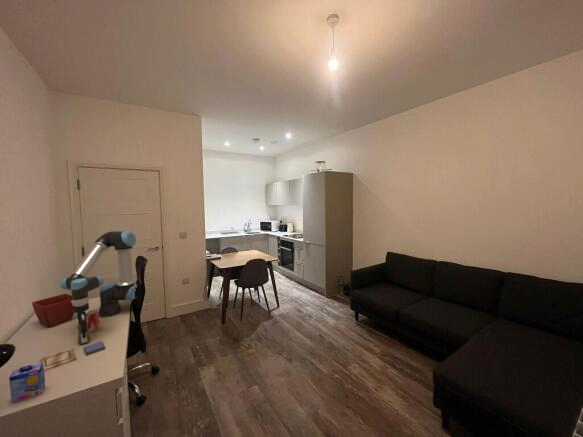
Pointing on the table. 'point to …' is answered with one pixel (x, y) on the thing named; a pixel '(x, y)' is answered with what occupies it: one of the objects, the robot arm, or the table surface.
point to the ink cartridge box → (27, 382)
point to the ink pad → (93, 348)
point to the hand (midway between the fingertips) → (83, 340)
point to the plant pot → (54, 310)
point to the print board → (58, 359)
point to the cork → (80, 334)
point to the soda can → (93, 320)
